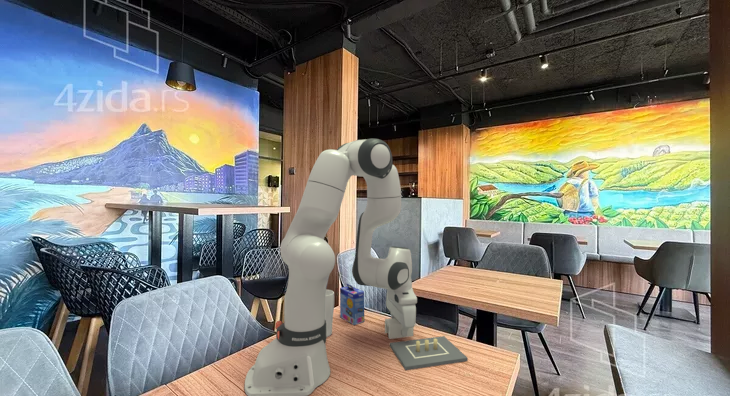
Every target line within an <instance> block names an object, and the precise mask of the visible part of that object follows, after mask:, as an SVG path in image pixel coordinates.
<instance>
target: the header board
mask: <svg viewBox="0 0 730 396" xmlns="http://www.w3.org/2000/svg"><path fill="white" fill-rule="evenodd" d="M389 347H390V349H391V351H392V352H393V353H394V355H395V356H396V358H397V360H398V361H399V363H400V364H401V366H402V367H403V369H404V370H405V371H410V370H416V369H418V370H419V369H423V368H431V367H438V366H443V365H444V366H445V365H449V364H457V363H464V362H465V363H466V362H468V360H469V359H468V357H467V356H466V355H465V354H464V353H463V352H462V351H461V350H460V349H458V347H456V346H455V345H454V344H453V342H451V341H450V340H449V339H448V338H447V337H446V336H444V335H443V336H433V337H425V338H418V339H411V340H410V339H408V340H402V341H394V342H389Z"/></svg>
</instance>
